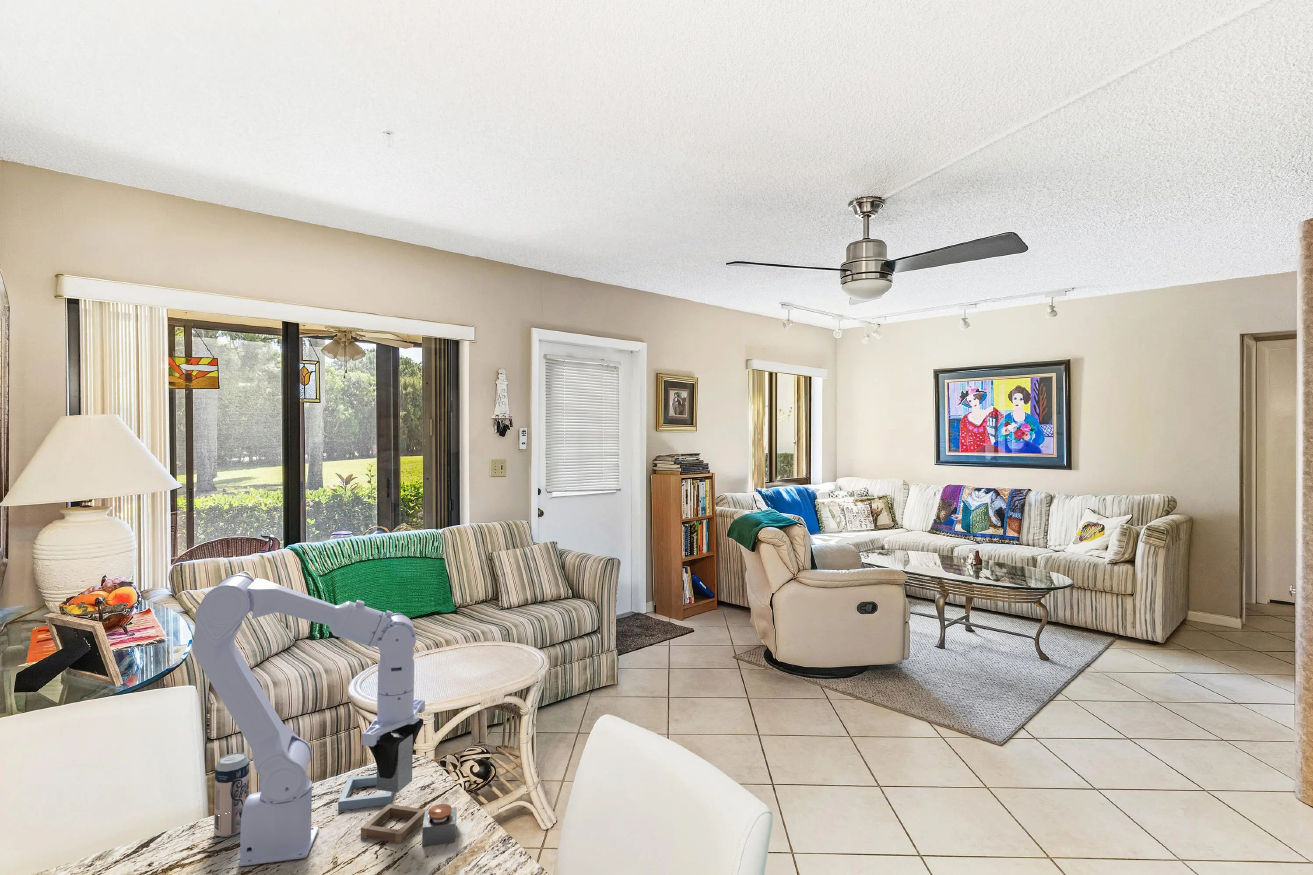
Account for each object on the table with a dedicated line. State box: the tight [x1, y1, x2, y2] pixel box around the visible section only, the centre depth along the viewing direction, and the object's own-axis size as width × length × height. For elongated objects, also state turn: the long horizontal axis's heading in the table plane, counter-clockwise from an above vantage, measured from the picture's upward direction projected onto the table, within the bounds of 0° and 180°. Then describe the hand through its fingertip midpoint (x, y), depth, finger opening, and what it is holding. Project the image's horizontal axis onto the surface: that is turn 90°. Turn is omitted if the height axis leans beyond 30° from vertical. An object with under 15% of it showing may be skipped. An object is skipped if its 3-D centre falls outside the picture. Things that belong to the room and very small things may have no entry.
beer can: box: [213, 752, 250, 838], centre depth 110 cm, size 5×5×12 cm
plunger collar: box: [421, 806, 457, 847], centre depth 110 cm, size 5×5×3 cm
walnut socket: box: [360, 804, 428, 844], centre depth 112 cm, size 7×7×2 cm
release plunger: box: [428, 803, 452, 823], centre depth 110 cm, size 4×4×4 cm
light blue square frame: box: [337, 774, 395, 811], centre depth 122 cm, size 9×9×2 cm
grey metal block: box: [376, 731, 414, 794], centre depth 112 cm, size 4×4×8 cm
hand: (394, 770), depth 112 cm, fingers closed on grey metal block, 4 cm apart
